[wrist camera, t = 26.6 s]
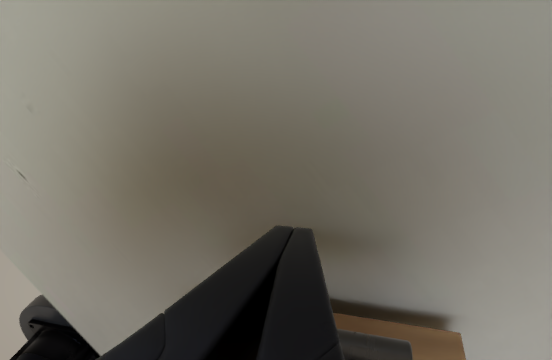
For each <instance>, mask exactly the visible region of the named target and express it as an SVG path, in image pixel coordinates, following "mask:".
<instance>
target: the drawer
mask: <svg viewBox="0 0 552 360" xmlns="http://www.w3.org/2000/svg"><path fill="white" fill-rule="evenodd" d="M333 315H334V319H335V323H336V327H337V331H338V335H339V339H340V346H341V347H342V351H343V355H344V359H345V360H466V358H465V353H464V348H463V343H462V338H461V334H460V333H457V332H451V331H445V330H439V329H432V328H426V327H420V326H414V325H407V324H401V323H395V322H389V321H382V320H376V319H370V318H364V317H357V316H351V315H345V314H338V313H333Z"/></svg>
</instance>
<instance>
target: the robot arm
mask: <svg viewBox="0 0 552 360" xmlns="http://www.w3.org/2000/svg"><path fill="white" fill-rule="evenodd" d="M27 325H28V327H29V329H30V330H31V332H32V333H33V336H32V337H31V338H30V339H29V340H28V341H27V342H26V343H25V344H24V345H23V346H22V347H21V349H20V350H19V351H18V352H17V353H16V354H15V355H14V356H13V357H12V358H11V359H10V360H345V359H344V355H343V351H342V347H341V346H340V339H339V335H338V331H337V327H336V323H335V319H334V315H333V311H332V307H331V303H330V299H329V295H328V291H327V287H326V283H325V279H324V275H323V271H322V267H321V263H320V258H319V254H318V250H317V246H316V242H315V238H314V234H313V231H312V229H309V228H299V227H297V228H295V229H294V228H293V227H289V226H275V227H274V228H273V229H271V230H270V231H269V232H267V233H266V234H265V235H263V236H262V237H261V238H259V239H258V240H257V241H256V242H254V243H253V244H252V245H250V246H249V247H248V248H246V249H245V250H244V251H242V252H241V253H240V254H238V255H237V256H236V257H234V258H233V259H232V260H231V261H229V262H228V263H227V264H225V265H224V266H223V267H221V268H220V269H219V270H217V271H216V272H215V273H213V274H212V275H211V276H210V277H208V278H207V279H206V280H204V281H203V282H202V283H200V284H199V285H198V286H196V287H195V288H194V289H192V290H191V291H190V292H189V293H187V294H186V295H185V296H183V297H182V298H181V299H179V300H178V301H177V302H175V303H174V304H173V305H171V306H170V307H169V308H168V309H166V310H165V312H164V314H163V313H161V314H159V315H158V316H157V317H155V318H154V319H153V320H152V321H150V322H149V323H148V324H146V325H145V326H144V327H142V328H141V329H139V330H138V331H137V332H135V333H134V334H133V335H131V336H130V337H128V338H127V339H126V340H124V341H123V342H122V343H120V344H119V345H117V346H116V347H114V348H113V349H111V350H110V351H108V352H107V353H105V354H104V355H102V356H101V357H100V355H99V353H98V352H97V351H96V350H95V349H94V348H93V347H92V346H91V345H90V344H89V343H88V342H87V341H86V340H85V339H84V338H83V336H82V335H81V334H80V333H79V332H78V331H77V330H76V329H75V328H73V327H68V326H64V325H59V324H54V323H49V322H44V321H40V320H35V319H31V320H30V321H29V322H28V323H27Z"/></svg>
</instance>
